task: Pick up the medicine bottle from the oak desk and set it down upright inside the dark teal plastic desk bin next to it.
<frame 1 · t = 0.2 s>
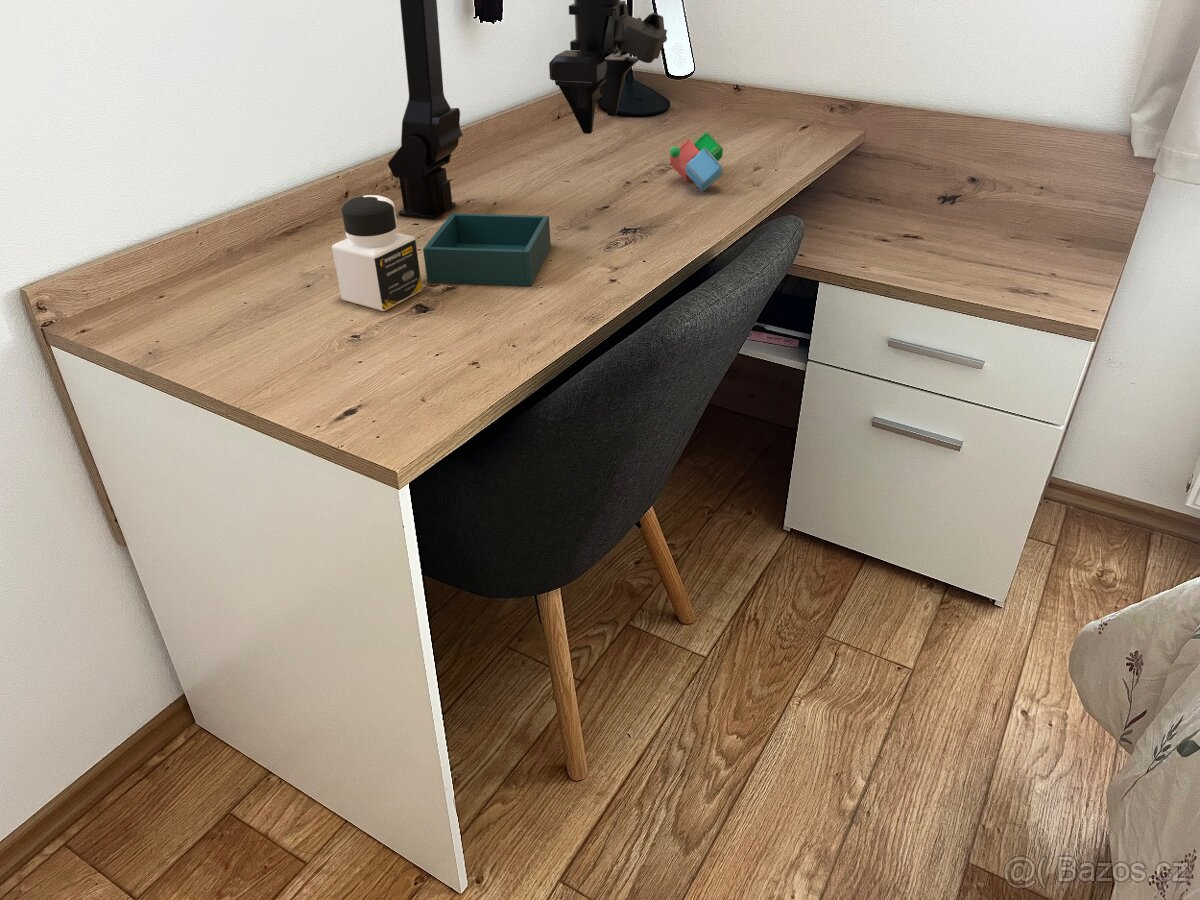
hand: (600, 124, 124), 15 cm above the table, tool pointing down, fingers open, 9 cm apart
building blocks: (703, 182, 150), on the table
medicine bottle: (382, 297, 116), on the table
desk bin: (491, 264, 123), on the table
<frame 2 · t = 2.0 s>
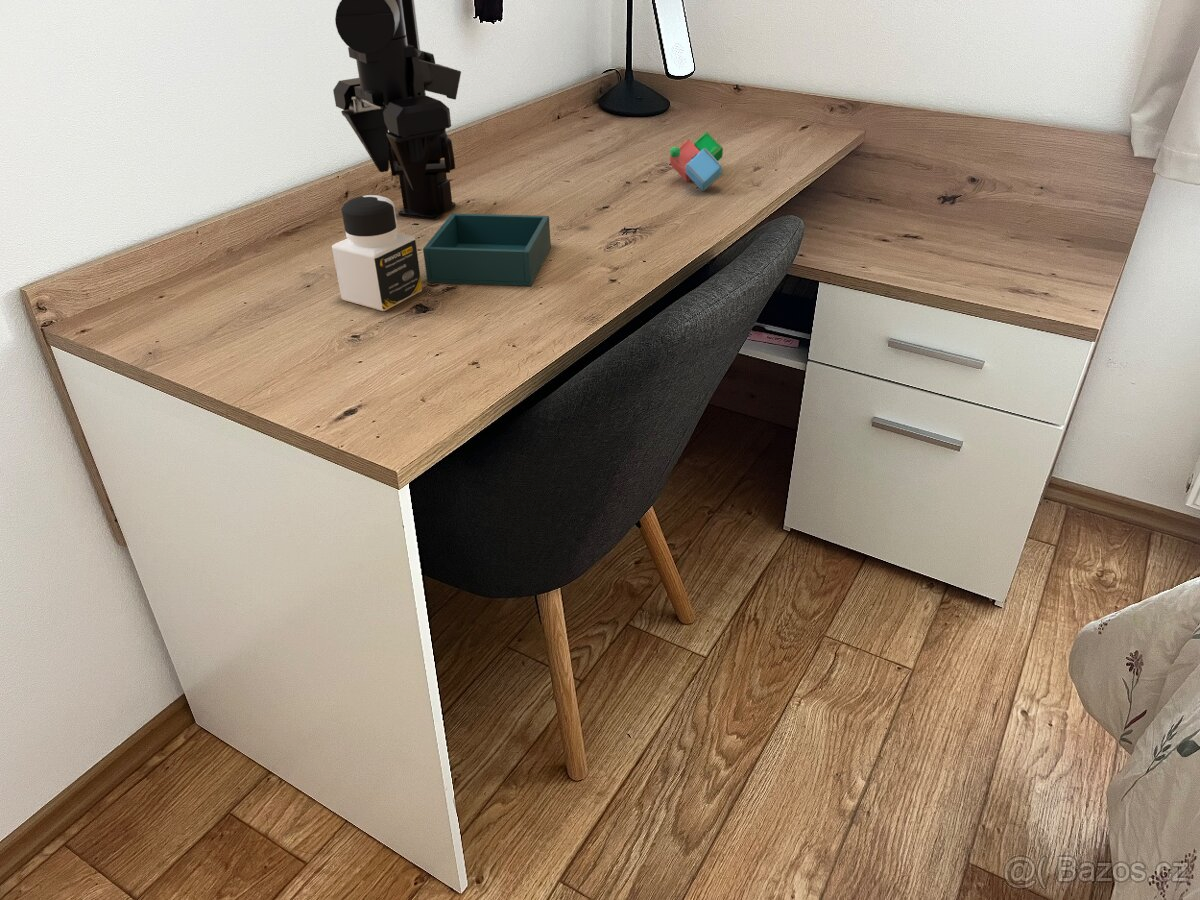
hand: (400, 180, 110), 13 cm above the table, tool pointing down, fingers open, 9 cm apart
nothing on the table moved.
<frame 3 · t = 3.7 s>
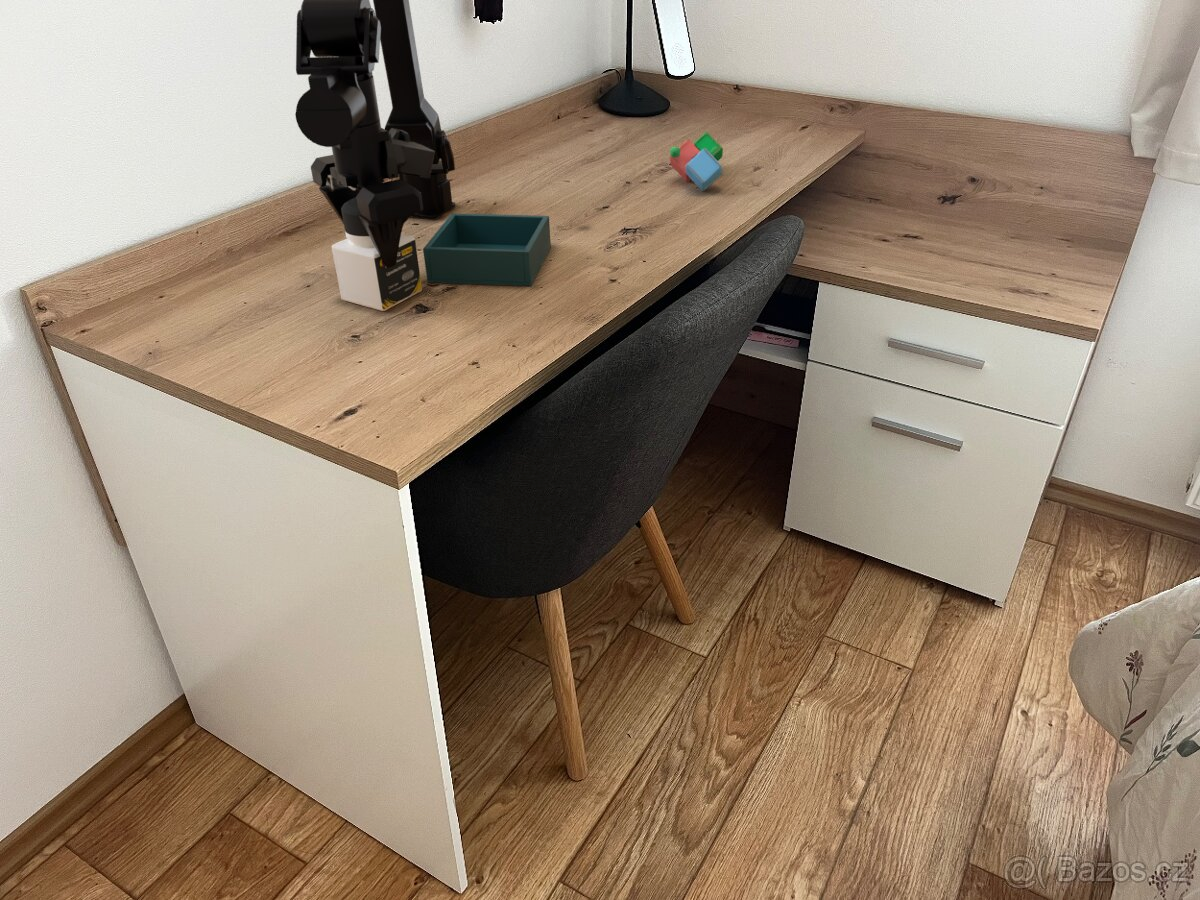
hand: (376, 255, 113), 5 cm above the table, tool pointing down, fingers closed on medicine bottle, 8 cm apart
medicine bottle: (382, 297, 116), on the table, touching gripper
everything else where it was.
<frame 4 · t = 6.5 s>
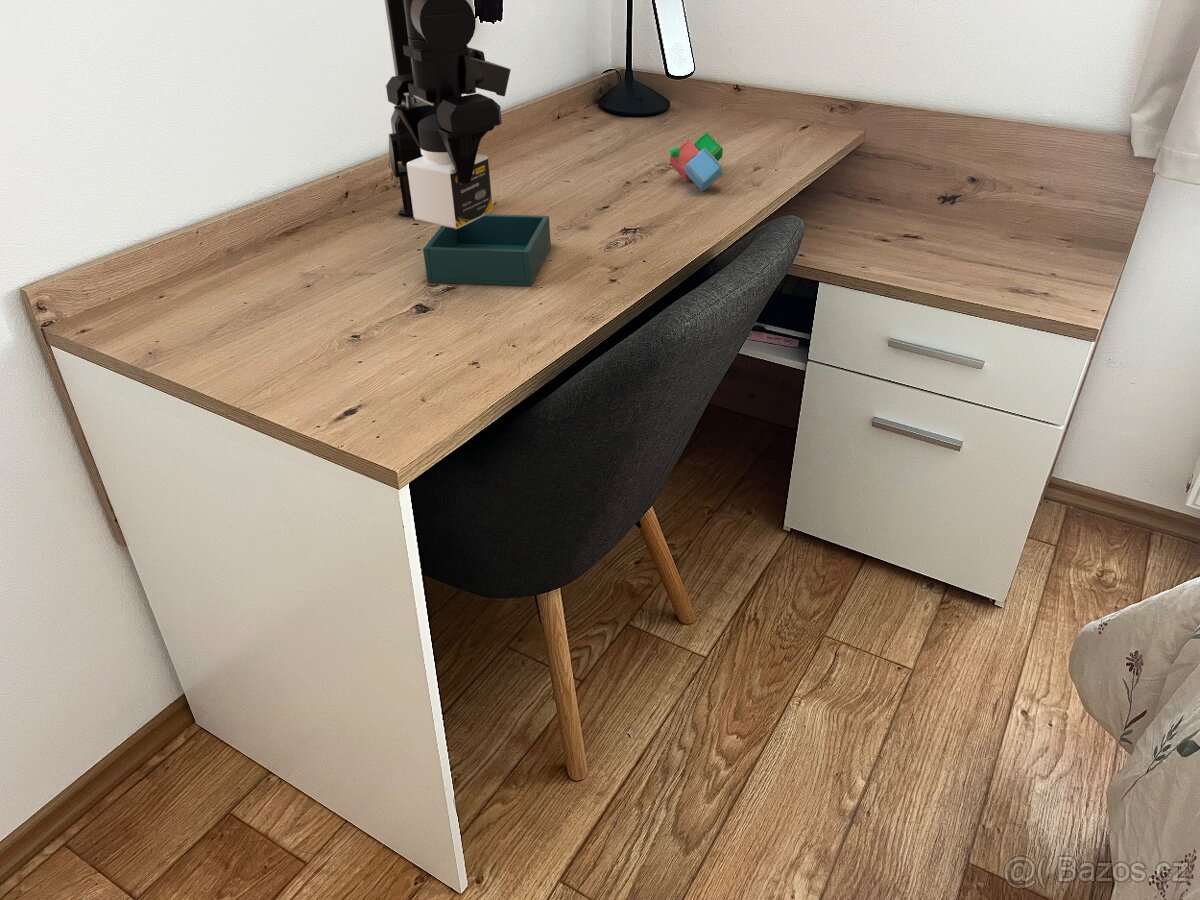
hand: (449, 174, 114), 13 cm above the table, tool pointing down, fingers closed on medicine bottle, 8 cm apart
medicine bottle: (453, 217, 117), point 7 cm above the table, touching gripper
everything else where it was.
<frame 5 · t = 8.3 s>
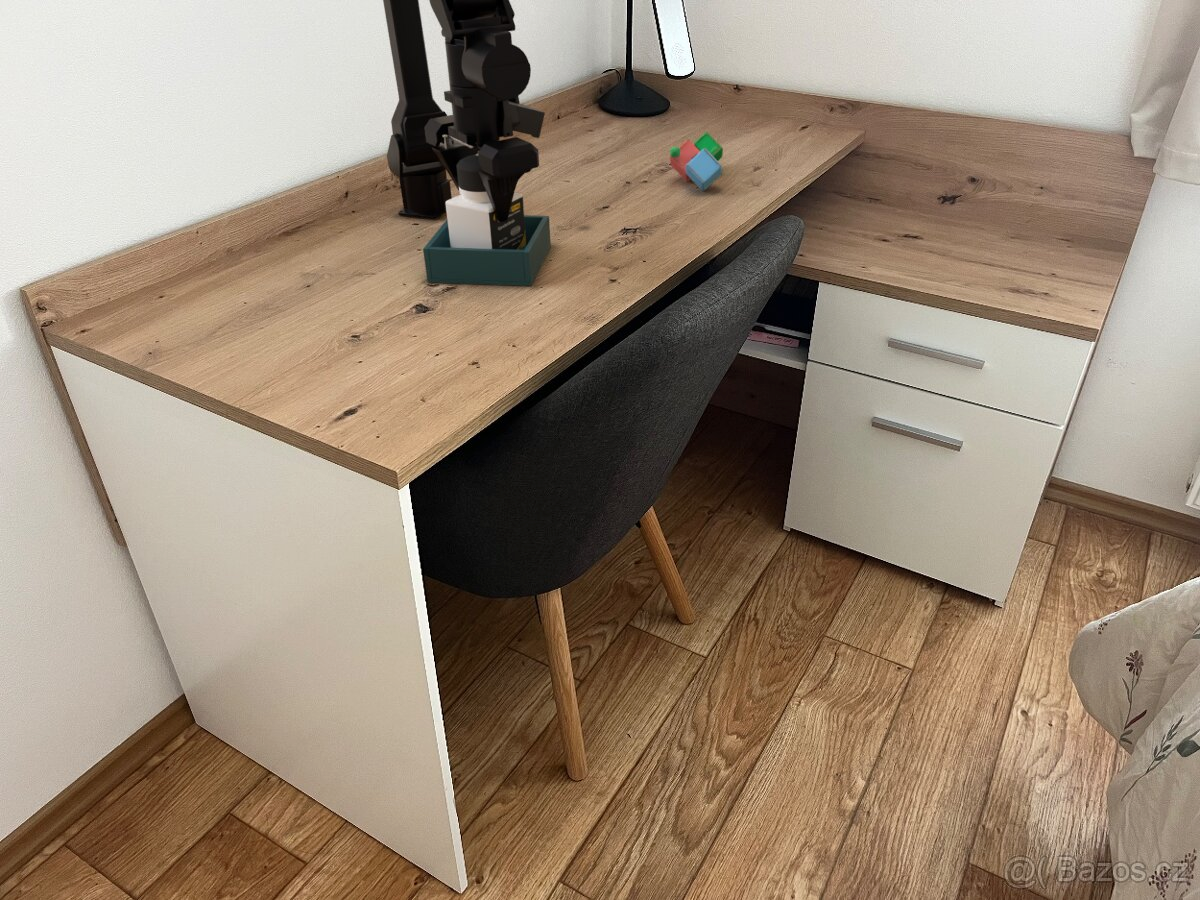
hand: (485, 211, 119), 7 cm above the table, tool pointing down, fingers closed on medicine bottle, 8 cm apart
medicine bottle: (489, 252, 122), point 2 cm above the table, touching gripper
everything else where it was.
when the fingers open (6 cm above the table, at t = 9.4 s): medicine bottle stays where it is, resting on desk bin.
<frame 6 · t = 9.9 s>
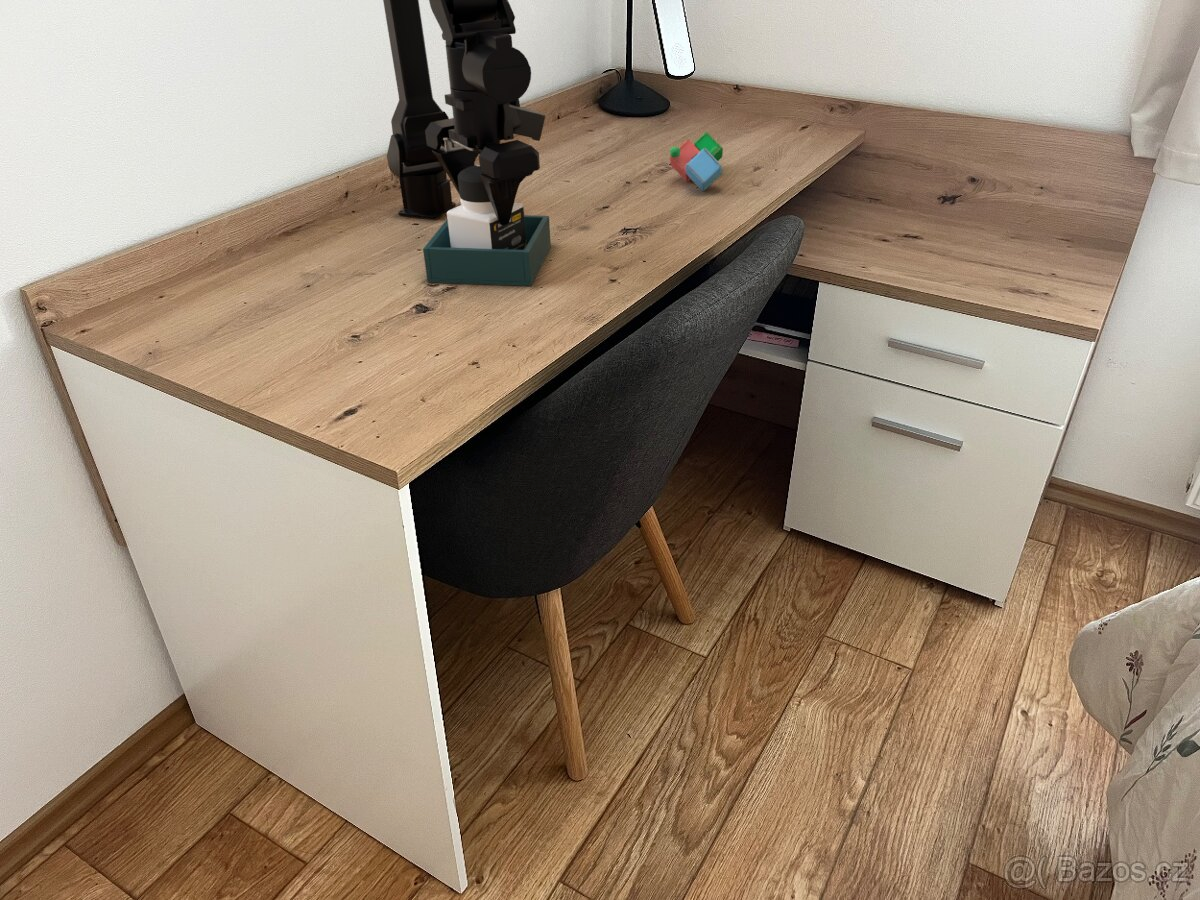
hand: (486, 214, 119), 7 cm above the table, tool pointing down, fingers open, 9 cm apart
medicine bottle: (490, 261, 123), resting on desk bin
everything else where it was.
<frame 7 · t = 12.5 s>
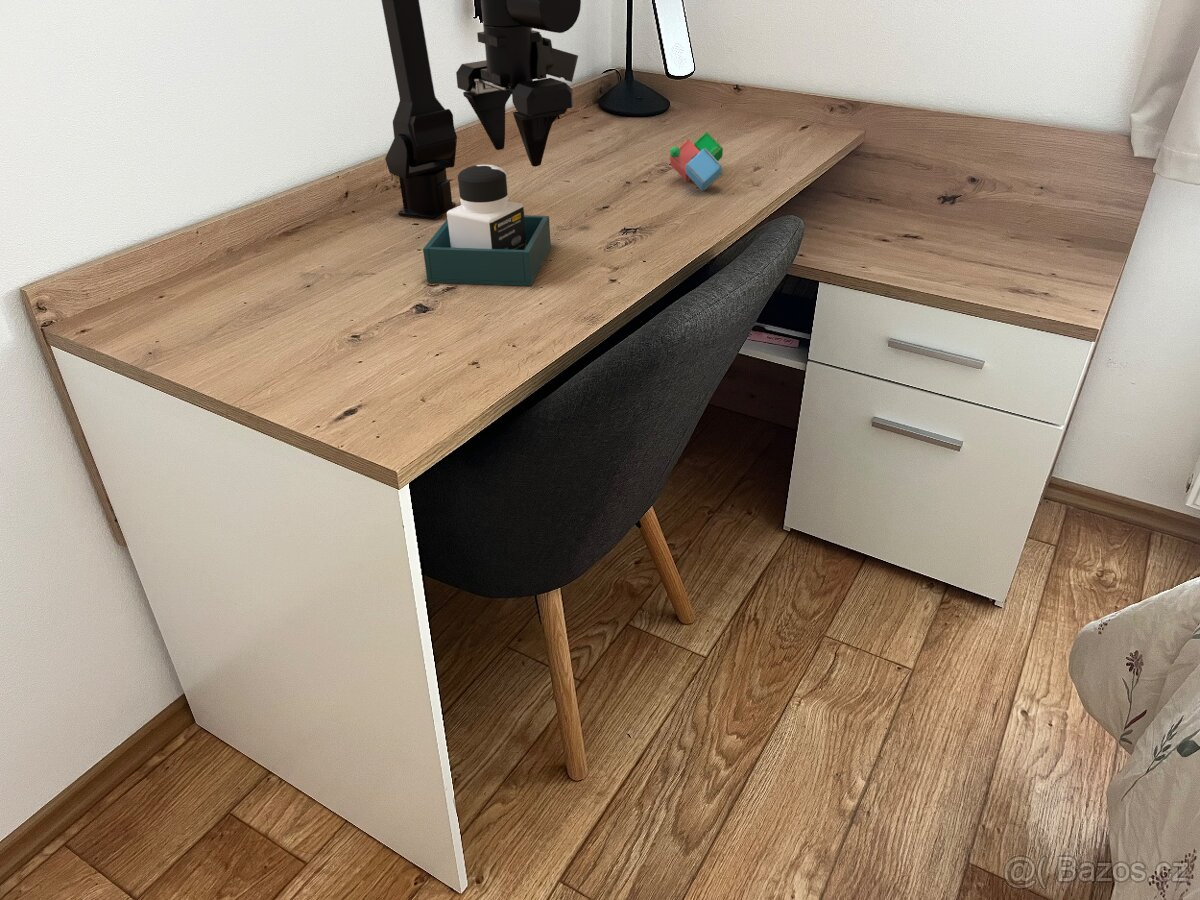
hand: (517, 157, 118), 13 cm above the table, tool pointing down, fingers open, 9 cm apart
nothing on the table moved.
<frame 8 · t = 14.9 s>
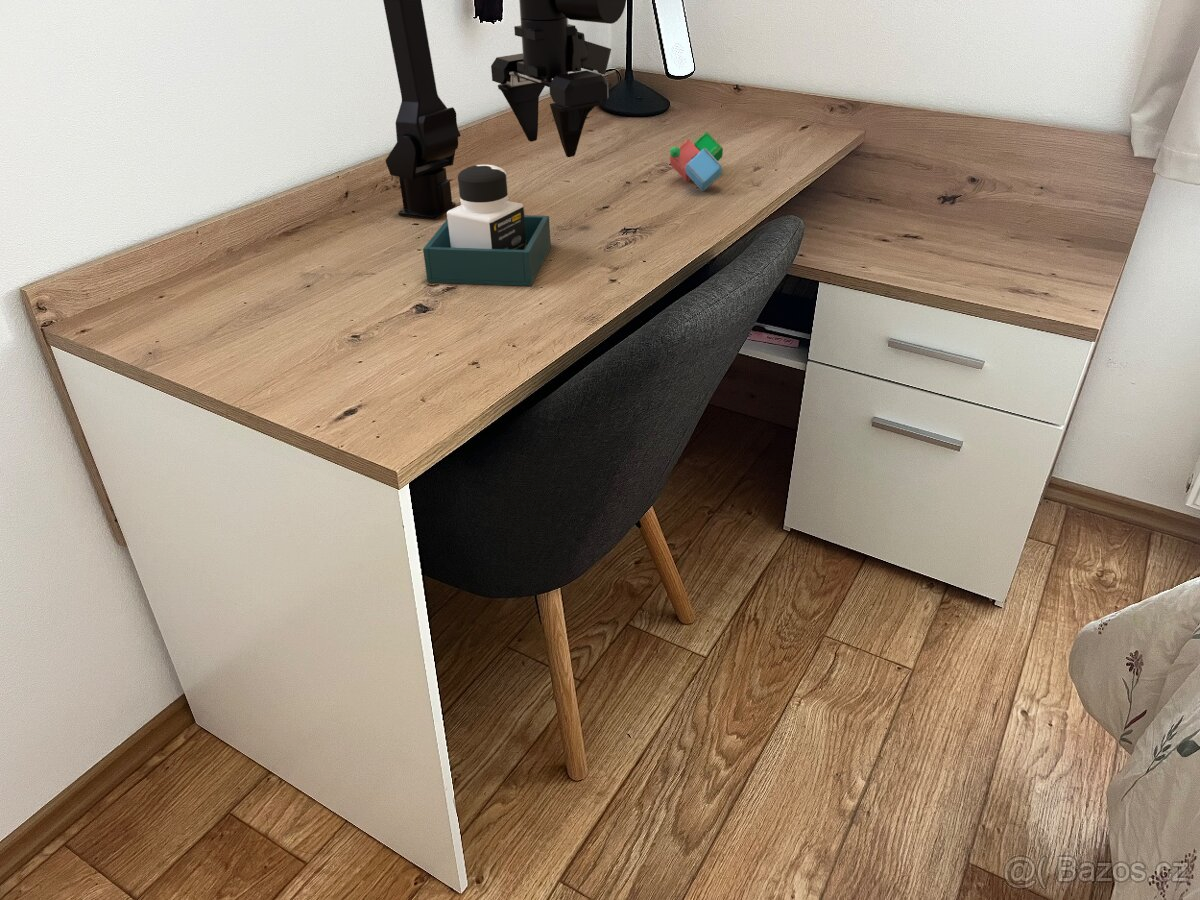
hand: (551, 148, 121), 13 cm above the table, tool pointing down, fingers open, 9 cm apart
nothing on the table moved.
at the end: medicine bottle inside the target area in the desk bin (0.2 cm from its centre), point 0.3 cm above the desk bin's base; medicine bottle tilted 0°; the gripper is holding nothing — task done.
